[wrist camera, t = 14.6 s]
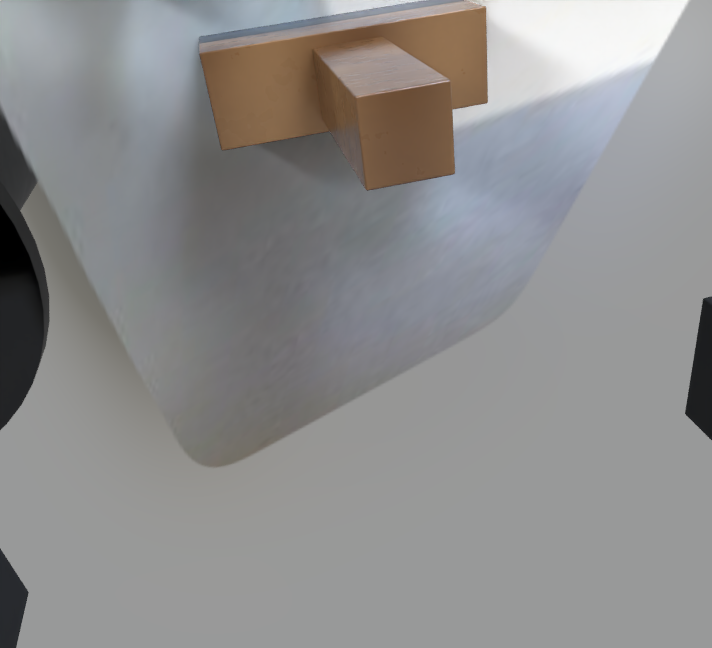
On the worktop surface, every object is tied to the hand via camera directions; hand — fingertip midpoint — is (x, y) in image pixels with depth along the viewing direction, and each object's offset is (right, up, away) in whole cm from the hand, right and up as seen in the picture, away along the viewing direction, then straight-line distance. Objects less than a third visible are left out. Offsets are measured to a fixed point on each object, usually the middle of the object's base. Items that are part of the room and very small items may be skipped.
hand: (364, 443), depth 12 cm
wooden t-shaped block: (-1, +15, +20) cm, 25 cm away
